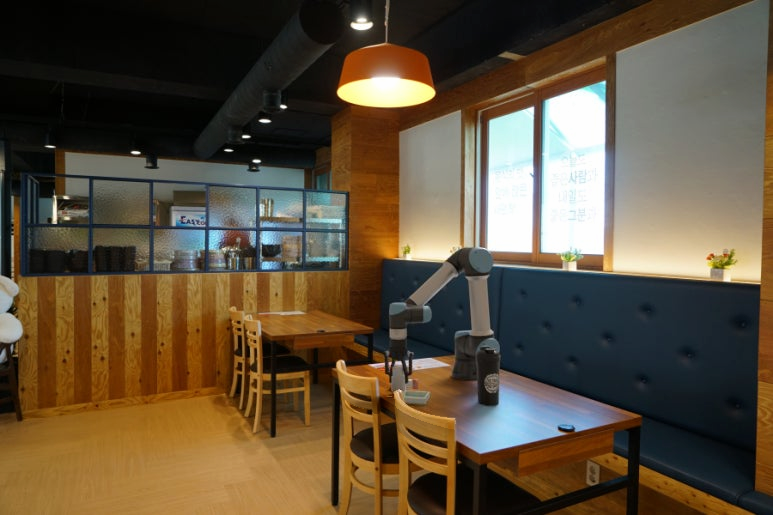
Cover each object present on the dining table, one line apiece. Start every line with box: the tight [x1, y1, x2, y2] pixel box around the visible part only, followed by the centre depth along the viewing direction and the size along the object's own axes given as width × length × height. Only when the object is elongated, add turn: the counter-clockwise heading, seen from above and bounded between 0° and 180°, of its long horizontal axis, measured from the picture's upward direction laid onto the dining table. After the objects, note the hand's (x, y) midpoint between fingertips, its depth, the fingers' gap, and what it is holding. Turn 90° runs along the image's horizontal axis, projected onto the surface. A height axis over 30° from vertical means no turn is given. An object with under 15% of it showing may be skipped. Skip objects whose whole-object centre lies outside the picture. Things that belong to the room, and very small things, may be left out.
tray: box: [403, 389, 431, 406], centre depth 218 cm, size 11×11×2 cm
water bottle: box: [476, 346, 501, 407], centre depth 214 cm, size 10×10×23 cm
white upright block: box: [392, 364, 404, 393], centre depth 228 cm, size 4×4×12 cm
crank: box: [406, 378, 419, 390], centre depth 235 cm, size 13×3×5 cm, turn 55°
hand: (398, 390), depth 228 cm, fingers closed on white upright block, 4 cm apart
